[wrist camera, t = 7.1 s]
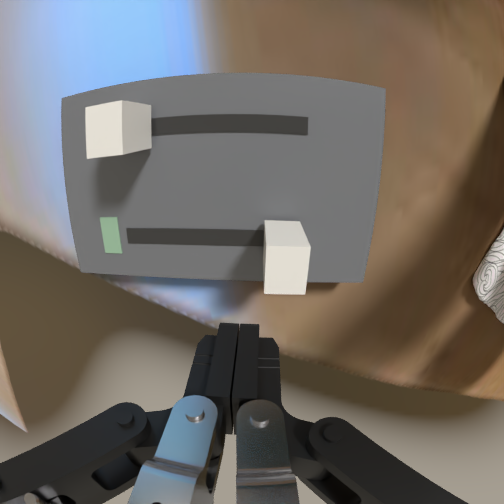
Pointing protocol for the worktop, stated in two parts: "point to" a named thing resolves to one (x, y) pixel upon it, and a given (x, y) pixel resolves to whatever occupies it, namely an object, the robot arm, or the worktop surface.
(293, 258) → the block
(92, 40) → the worktop surface
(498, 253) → the cookie jar
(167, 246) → the slider control panel
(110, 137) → the block
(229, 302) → the worktop surface
